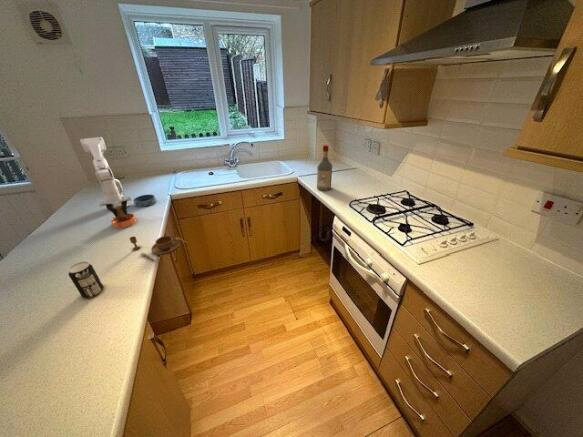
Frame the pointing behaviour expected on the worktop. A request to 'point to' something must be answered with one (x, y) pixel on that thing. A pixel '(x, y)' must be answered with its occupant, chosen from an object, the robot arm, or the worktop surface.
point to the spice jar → (120, 213)
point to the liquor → (324, 172)
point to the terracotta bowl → (124, 222)
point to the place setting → (160, 245)
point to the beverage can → (85, 279)
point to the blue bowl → (144, 200)
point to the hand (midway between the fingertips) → (121, 215)
